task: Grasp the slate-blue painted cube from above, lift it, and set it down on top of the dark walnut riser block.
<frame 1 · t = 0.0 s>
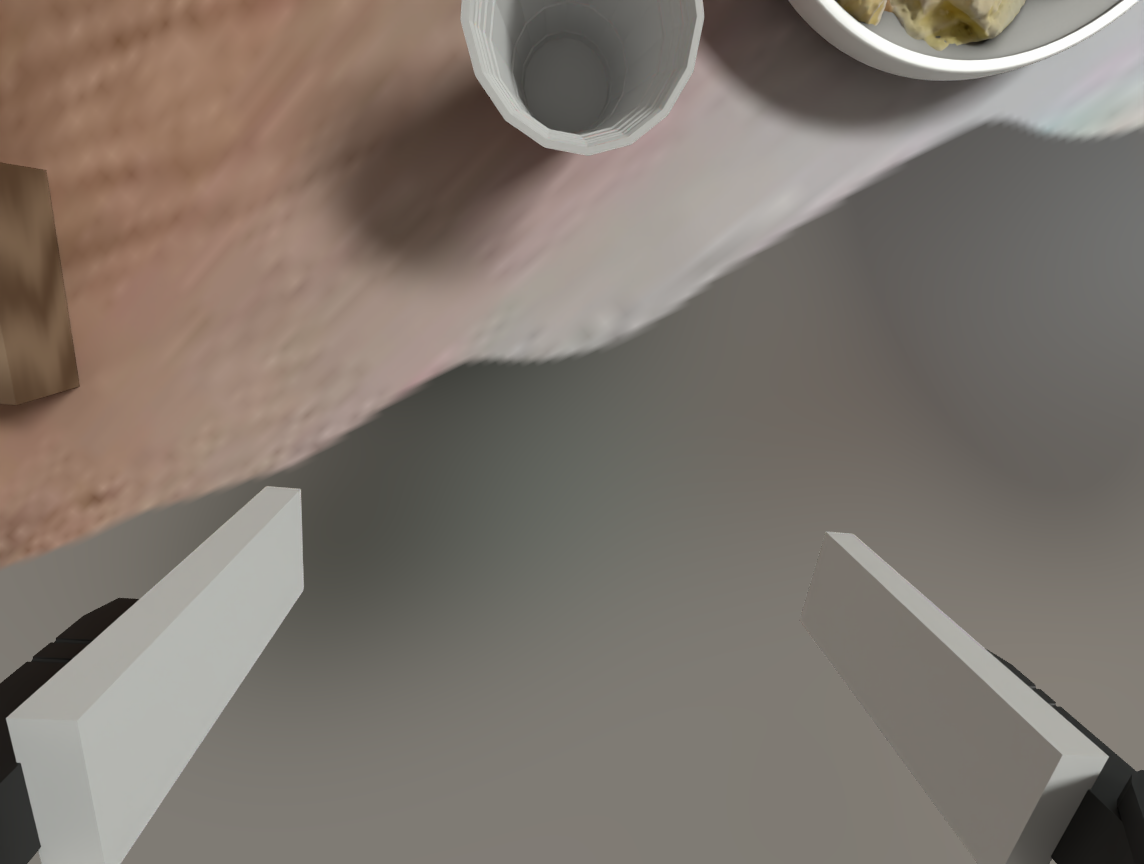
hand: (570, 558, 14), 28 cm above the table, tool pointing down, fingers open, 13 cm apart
plastic cup: (567, 92, 35), on the table
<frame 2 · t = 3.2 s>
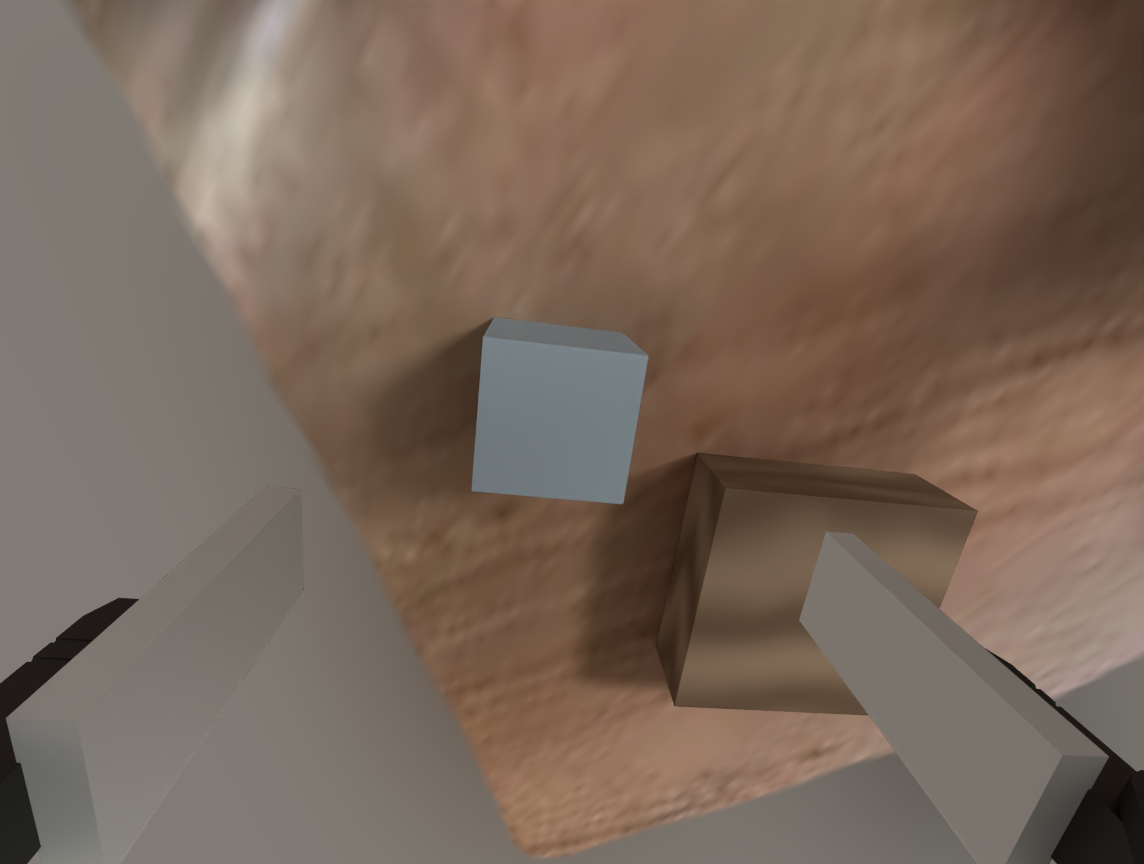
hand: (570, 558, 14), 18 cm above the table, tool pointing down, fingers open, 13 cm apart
slate cube: (552, 387, 30), on the table
walnut block: (780, 564, 35), on the table
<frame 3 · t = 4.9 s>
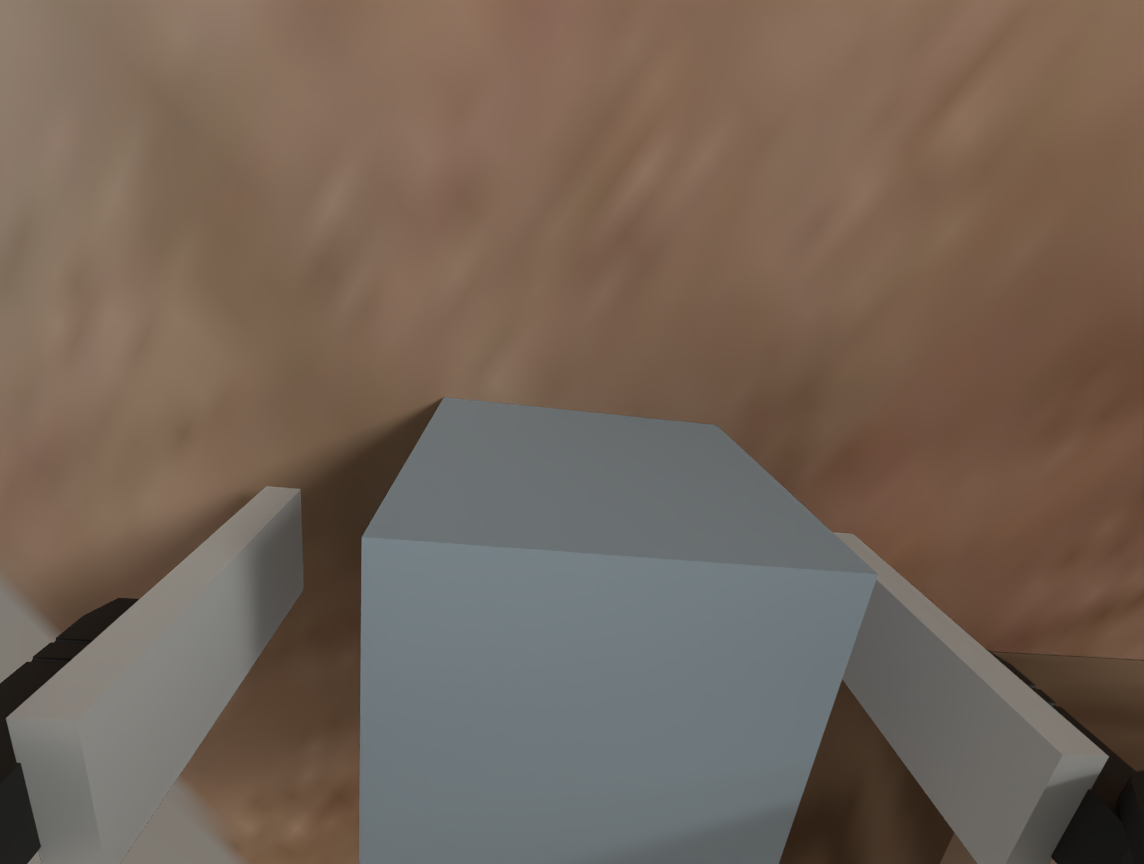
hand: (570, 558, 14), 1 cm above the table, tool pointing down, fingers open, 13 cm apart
slate cube: (566, 532, 15), on the table
walnut block: (972, 814, 20), on the table
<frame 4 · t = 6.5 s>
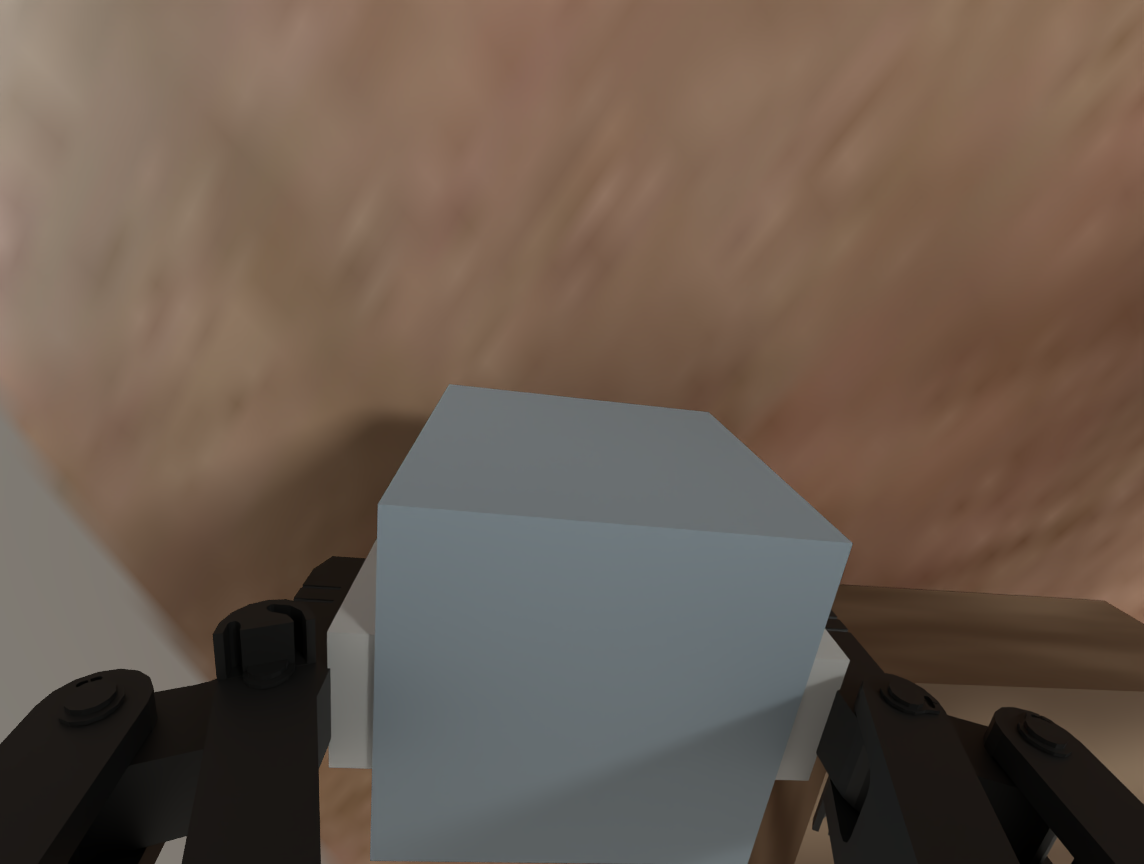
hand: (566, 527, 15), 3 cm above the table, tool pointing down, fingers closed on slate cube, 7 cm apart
slate cube: (565, 516, 16), point 3 cm above the table, touching gripper
walnut block: (893, 732, 23), on the table
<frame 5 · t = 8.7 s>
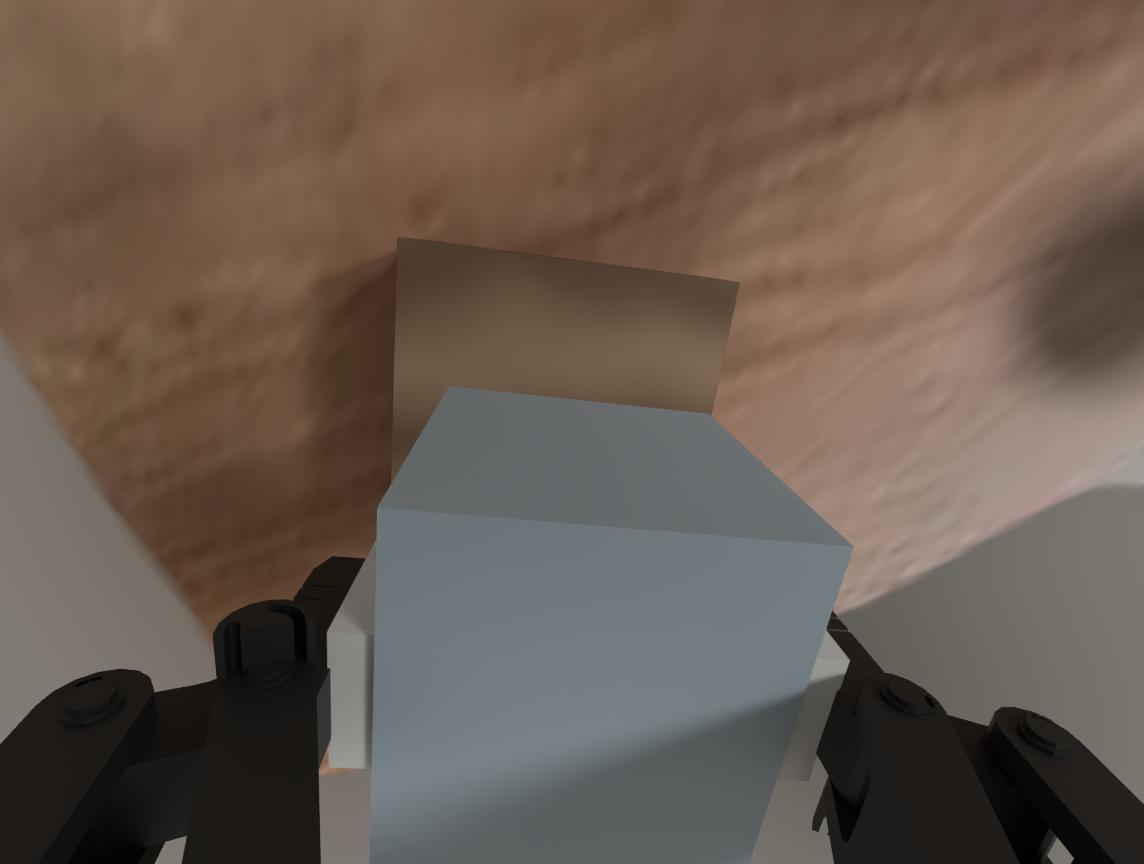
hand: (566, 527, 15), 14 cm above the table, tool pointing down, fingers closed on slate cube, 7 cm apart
slate cube: (565, 517, 15), point 14 cm above the table, touching gripper
walnut block: (550, 396, 29), on the table
when the fingers open (6 cm above the table, at t = 10.9 s): slate cube stays where it is, resting on walnut block.
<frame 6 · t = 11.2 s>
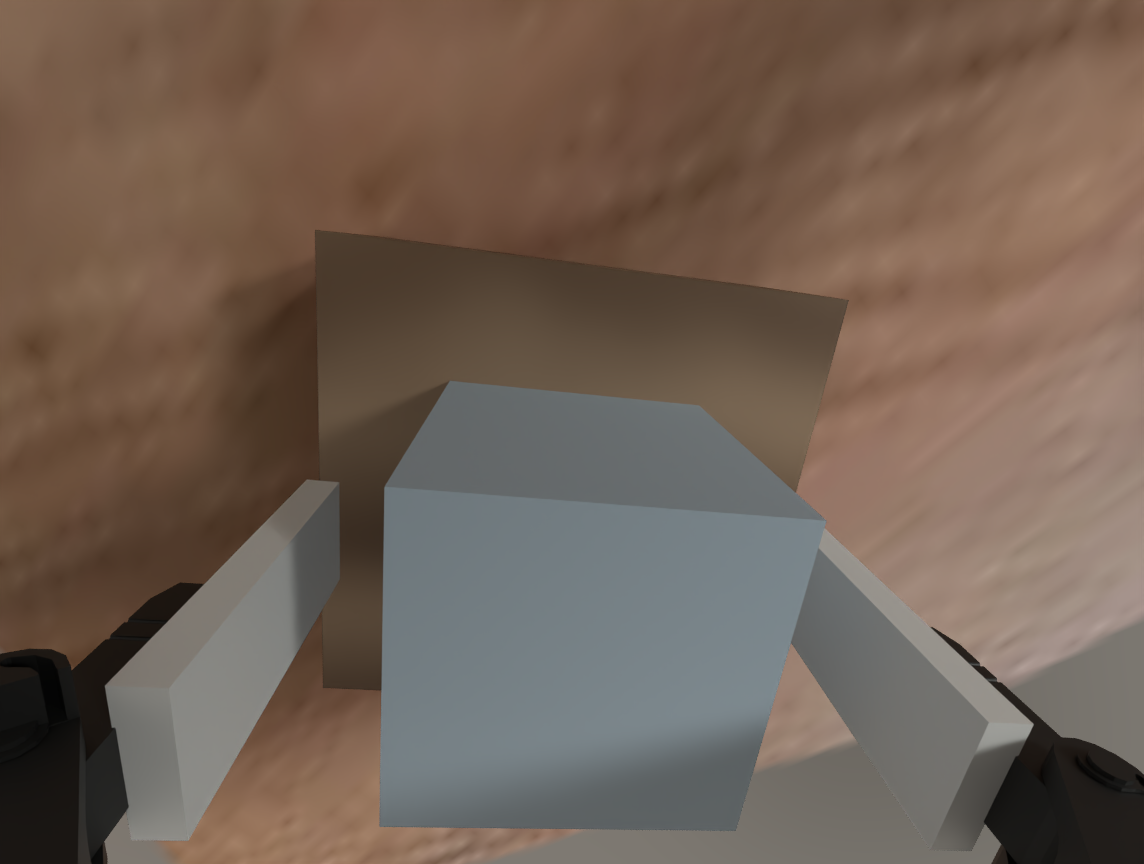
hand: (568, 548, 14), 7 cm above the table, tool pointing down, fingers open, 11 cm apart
slate cube: (563, 507, 16), point 5 cm above the table, touching walnut block
walnut block: (556, 451, 21), on the table
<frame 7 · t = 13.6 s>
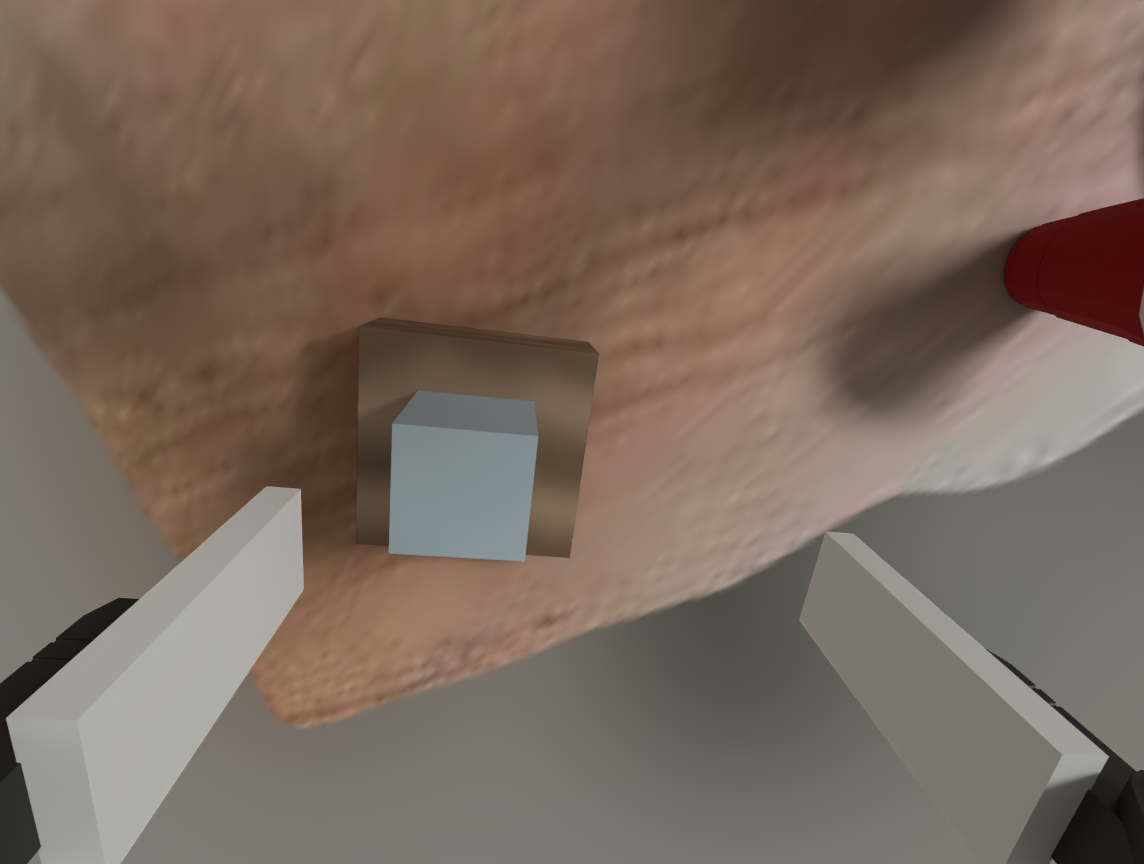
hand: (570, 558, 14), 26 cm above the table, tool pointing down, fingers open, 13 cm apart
slate cube: (473, 450, 34), point 5 cm above the table, touching walnut block
walnut block: (478, 428, 39), on the table
plastic cup: (1038, 268, 39), on the table
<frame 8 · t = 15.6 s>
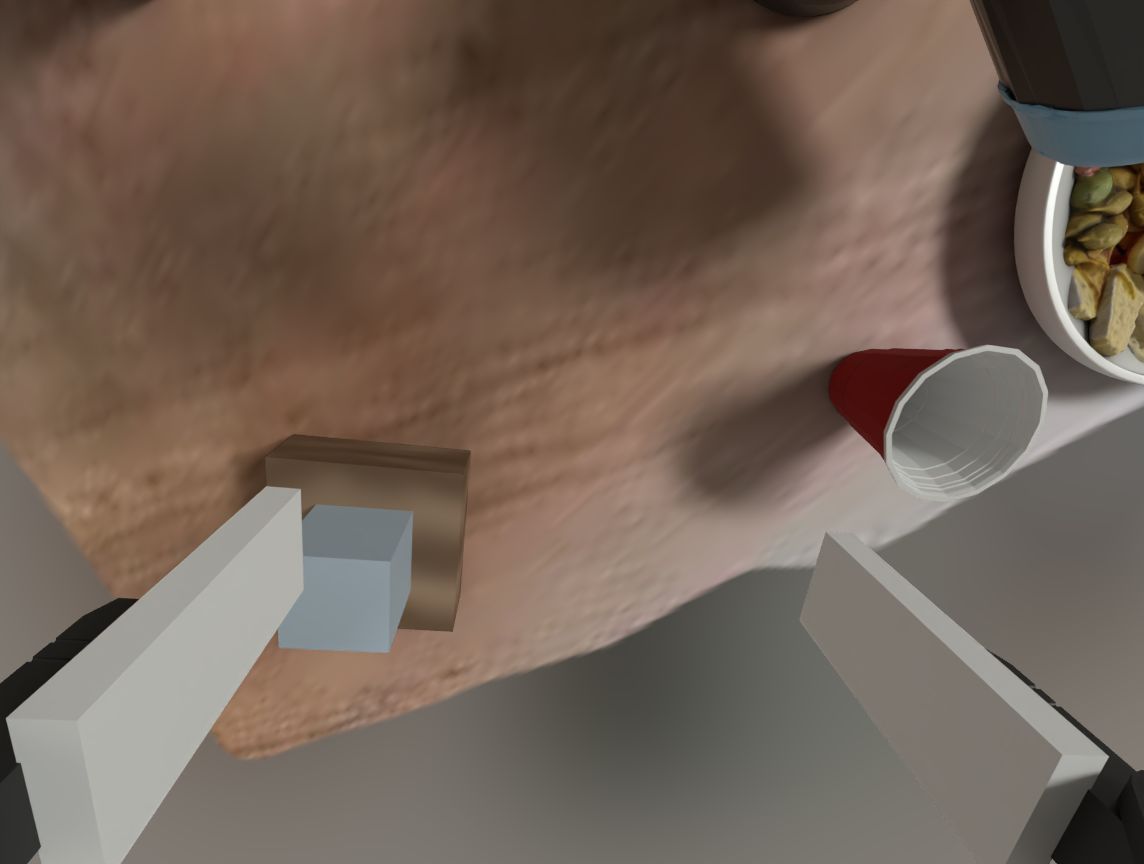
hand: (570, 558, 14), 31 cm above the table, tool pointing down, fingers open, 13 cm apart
slate cube: (364, 549, 41), point 5 cm above the table, touching walnut block
walnut block: (382, 519, 46), on the table
plastic cup: (860, 385, 46), on the table
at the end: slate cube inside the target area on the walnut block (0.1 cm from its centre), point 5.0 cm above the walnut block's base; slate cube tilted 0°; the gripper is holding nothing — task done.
